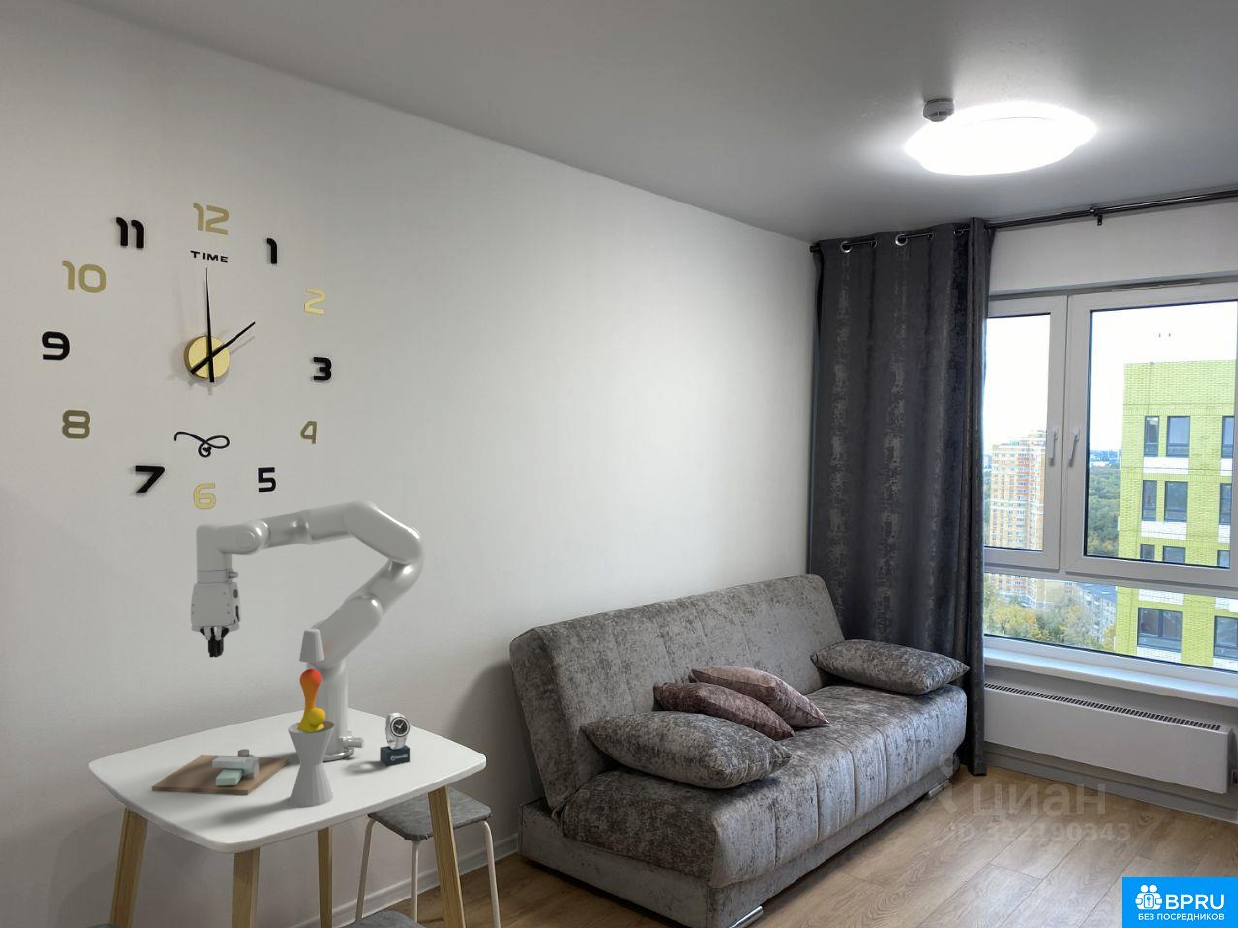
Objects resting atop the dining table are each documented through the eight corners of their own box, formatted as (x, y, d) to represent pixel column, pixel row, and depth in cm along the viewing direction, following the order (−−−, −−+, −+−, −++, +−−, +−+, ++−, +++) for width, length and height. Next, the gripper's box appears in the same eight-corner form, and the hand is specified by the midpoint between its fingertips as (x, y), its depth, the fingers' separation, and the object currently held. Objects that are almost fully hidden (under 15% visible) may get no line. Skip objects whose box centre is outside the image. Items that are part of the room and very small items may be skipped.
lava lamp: (278, 801, 188) (279, 630, 188) (314, 787, 196) (314, 623, 196) (308, 810, 184) (308, 635, 183) (343, 796, 191) (344, 628, 191)
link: (236, 761, 208) (236, 754, 208) (256, 760, 209) (256, 754, 209) (214, 785, 193) (214, 778, 193) (236, 784, 194) (236, 777, 194)
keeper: (259, 774, 201) (259, 757, 201) (253, 779, 198) (253, 761, 198) (219, 772, 202) (219, 756, 202) (212, 777, 199) (212, 760, 199)
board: (289, 762, 212) (289, 743, 212) (248, 794, 192) (248, 773, 192) (201, 759, 213) (201, 740, 213) (151, 790, 193) (151, 770, 193)
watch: (390, 768, 208) (390, 720, 208) (377, 758, 215) (377, 711, 215) (413, 763, 211) (413, 716, 211) (400, 754, 218) (400, 708, 218)
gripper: (253, 574, 216) (254, 652, 216) (190, 574, 216) (192, 652, 216) (239, 579, 208) (240, 659, 208) (174, 579, 209) (175, 659, 209)
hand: (215, 655), depth 212 cm, fingers closed
